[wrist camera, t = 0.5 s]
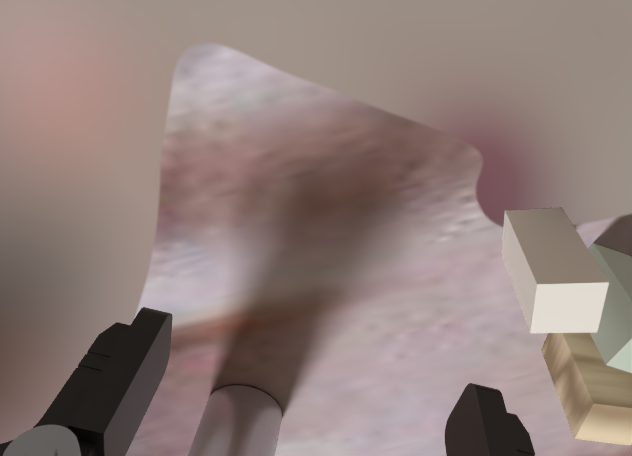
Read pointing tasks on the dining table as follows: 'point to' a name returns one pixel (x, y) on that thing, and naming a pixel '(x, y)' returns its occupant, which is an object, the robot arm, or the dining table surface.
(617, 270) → the grey-green block
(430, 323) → the dining table surface
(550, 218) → the cream block
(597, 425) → the beech block
